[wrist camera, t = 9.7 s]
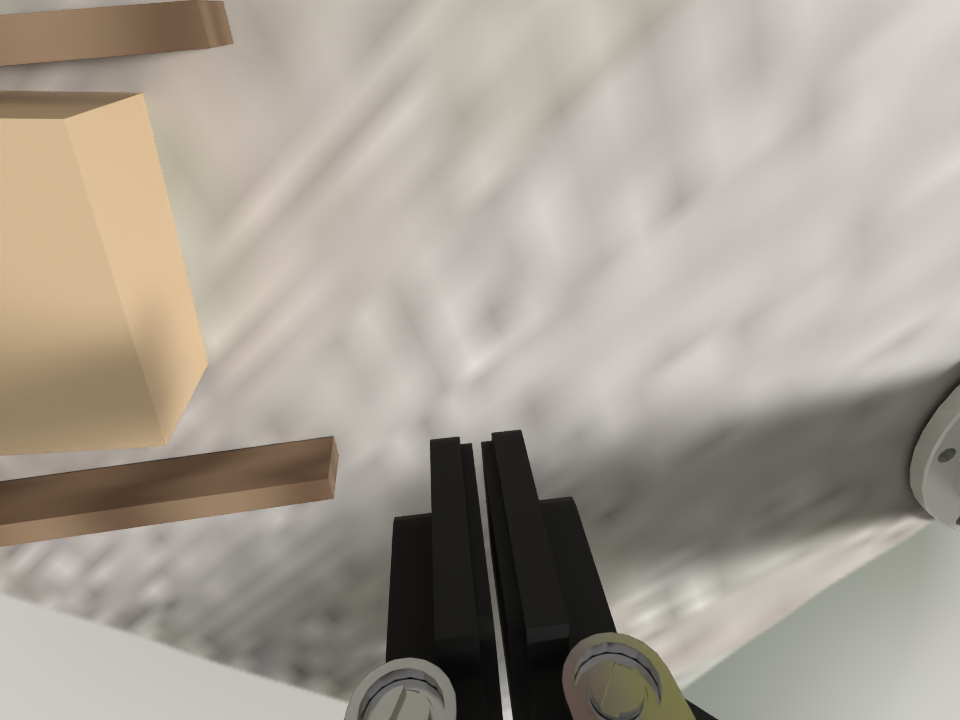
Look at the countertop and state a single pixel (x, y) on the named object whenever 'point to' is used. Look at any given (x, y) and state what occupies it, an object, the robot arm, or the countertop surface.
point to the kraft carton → (89, 279)
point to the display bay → (172, 482)
